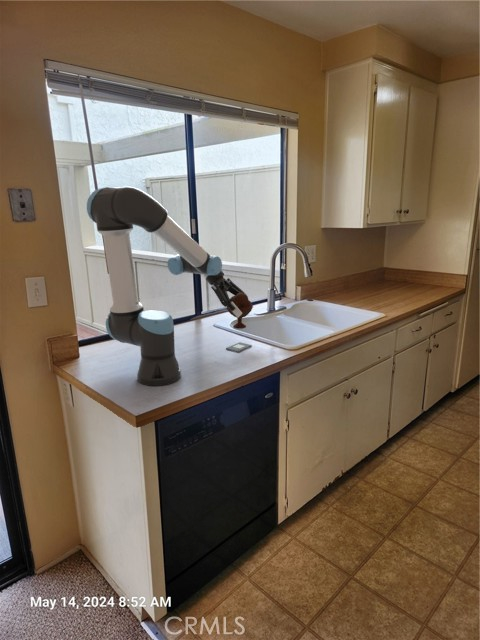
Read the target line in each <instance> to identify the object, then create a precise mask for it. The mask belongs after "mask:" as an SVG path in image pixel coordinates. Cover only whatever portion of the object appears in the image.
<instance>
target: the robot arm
mask: <svg viewBox="0 0 480 640" xmlns="http://www.w3.org/2000/svg"><path fill="white" fill-rule="evenodd" d="M86 213H87V215H88V217H89V219H91V221H92V222H93V223H95V224H96V229H97V232H98V233H99V234H101V236H103V245H104V251H105V257H106V264H107V269H108V270H107V271H108V276H109V277H108V278H109V283H110V291H111V297H112V305H111V306H110V307H109V313H108V315H107V318H106V320H105V329H106V332H107V333H108V335H109V336H110V338H112V339H113V340H115V341H117V342H120V343H123V344H129V345H132V346H136V347H140V356H141V357H140V363H139V365H138V366H139V367H138V369H137V374H136V375H137V381H138V382H139V384H142V385H145V386H150V387H151V386H152V387H159V386H166V385H171V384H174V383H176V382H177V381H178V380H180V379H181V376H182V370H181V368H180V366H179V365H180V364H179V362H178V360H177V358H176V352H175V351H176V350H175V325H174V319H173V316H172V315H171V314H170V313H168V312H166V311H163V310H154V309H150V310H145V309H144V304H143V303H141V302H140V301H139V298H138V290H137V289H138V288H137V282H136V274H135V267H134V260H133V259H134V258H133V253H132V252H133V251H132V250H133V249H132V243H131V237H130V234H131V232H132V231H133V230H134V226H137V227H140V228H141V229H143V230H145V231H146V232H147V233H151V234H154V235H155V236H157V237H158V238H159V239H160V240H161V241H162V242H163V243H164V244H166V245H167V246H169V248H171V249H172V250H173V251H174V252H175V253H176V254H175V255H173V256H171V257H169V258H168V260H167V265H166V266H167V269H168V271H169V272H170V273H171V274H172V275H174V276H178V275H182V274H183V273H186V274H187V273H188V274H197V275H201V276H202V277H204V279H205V281H206V282H208V284H209V285H210V286H211V287H210V288H211V289H212V291H214V294H215V295H216V296H217V299H218V300H219V302H220V304H221V305H222V306H224V307H225V308H227V306H228V307H229V308H230V310H231V311H232V312H233V313H234V314H235V315H236V317H237V318H238V317H239V316H240V315H242V314H243V313H242V312H241V311H240V310H239V309H238V307H237V306H236V305H235V304H234V303H233V302H231V301H230V296H229V294H228V292H229V293H230V294H232V296H236V295H237V294H238V293H245V291H243V290H242V289H241V288H240V287H239V286H237V284H236V283H234V282H233V281H232V280H231V279H230V278H229V277H228V278H225V277H224V276H225V273H224V271H222V269H223V261H222V259H221V258H220V257H219V256H217V255H214V254H213V255H211V254H209V253H208V252H207V251H206V250H205V249H204V248H203V247H202V246H201V245H200V244H199V243H198V242H197V241H196V240H194V239H193V238H192V237H191V236H190V235H189V234H188V233H187V232H186V231H185V230H184V229H183V228H182V227H181V226H180V225H178V223H177V222H175V220H173V219H172V218H171V217H170V216H169V214H168V213H169V212H168V210H167V209H166V208H165V207H164V206H163V205H162V204H161V203H160V202H159V201H157V200H156V199H155V198H154V197H153V196H151V195H150V194H148V193H147V192H145V191H143V190H141V189H139V188H137V187H133V186H113V187H112V186H111V187H110V186H107V187H102V188H101V187H100V188H97V189H95V190H94V191H92V192H91V193H90V195H89V197H88V198H87V201H86ZM230 302H231V303H230ZM253 308H254V306H253V307H252V309H253ZM236 317H235V318H236ZM237 318H236V319H237Z"/></svg>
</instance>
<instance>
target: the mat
mask: <svg viewBox="0 0 480 640" xmlns="http://www.w3.org/2000/svg"><path fill="white" fill-rule="evenodd" d="M252 346H253V345H252V344H248V343H245V342H236V343H234V344H232V345H231V346H230V345H229V346H227V347H225V350H227V351H231V352H235V353H240V352H242V351H245V350H248V349H249V348H252Z"/></svg>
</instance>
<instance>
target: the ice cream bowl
mask: <svg viewBox="0 0 480 640" xmlns="http://www.w3.org/2000/svg"><path fill="white" fill-rule="evenodd" d="M229 299H230V301H231V302H233V303H234V304H235V305H236V306H237V307H238V309H239V310H240V311H241V312H242V313H243V314H242V315H240V316H239V317H238V318H237V317H236V315H235V314H234V313H233V312H232V311H231V310H230V308H229V307H228V306H226V309H227V311H228V313H229V314H230V315H231V316H233V317H234V318H236V319H237V323H235V324H234V325H233V329H236V330H237V329H239V330H240V329H241V330H242V329H246V328H247V325H246V324H244V323H243V321H242V320H243V318H245V317H247V316H249V314H250V313H251V312H252V310H253V308H254V305H253V304H252V302H251V300H250V299H249V297H248V295H247V294H246V293H245V292H244V293H238V294H237V295H236V296H235V295H232V296H231V297H229ZM231 302H230V303H231ZM252 307H253V308H252Z"/></svg>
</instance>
